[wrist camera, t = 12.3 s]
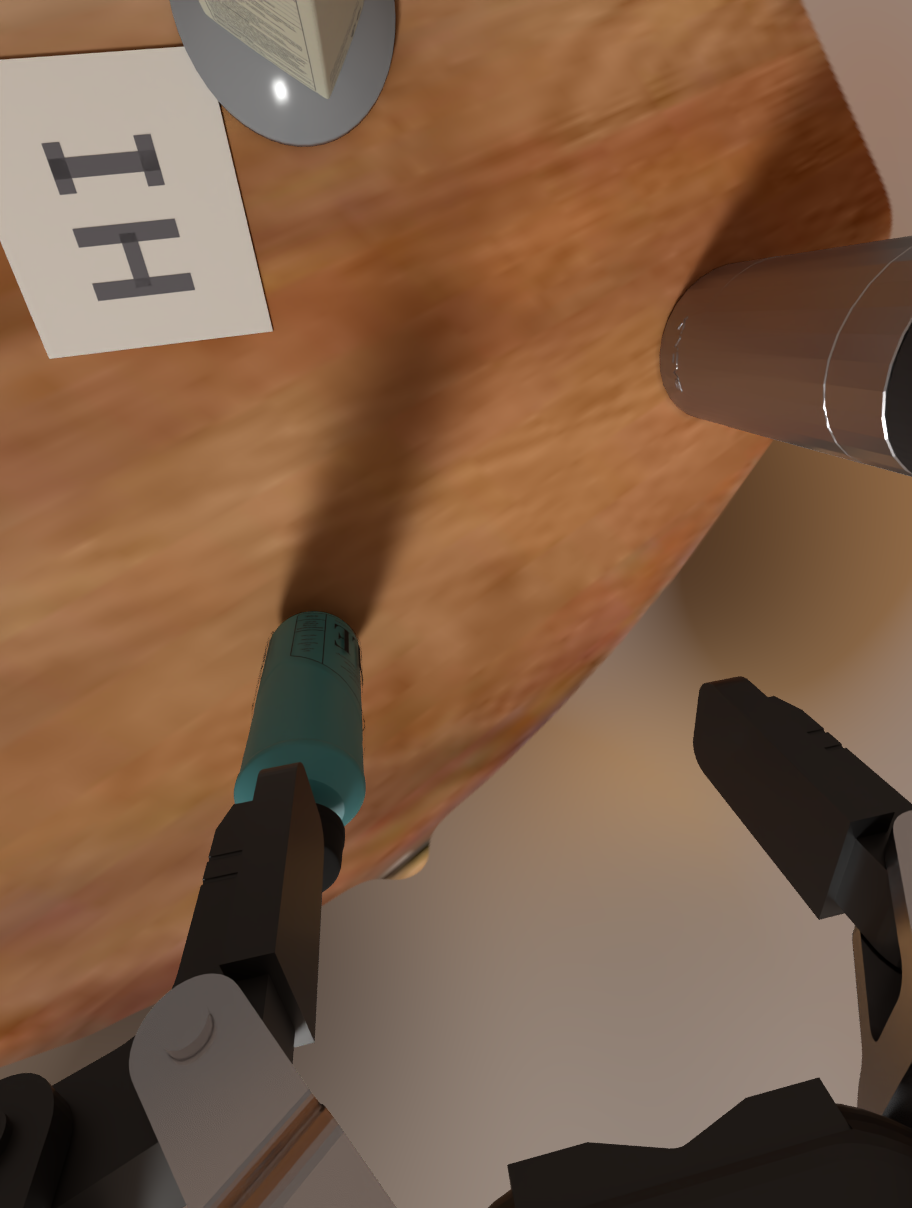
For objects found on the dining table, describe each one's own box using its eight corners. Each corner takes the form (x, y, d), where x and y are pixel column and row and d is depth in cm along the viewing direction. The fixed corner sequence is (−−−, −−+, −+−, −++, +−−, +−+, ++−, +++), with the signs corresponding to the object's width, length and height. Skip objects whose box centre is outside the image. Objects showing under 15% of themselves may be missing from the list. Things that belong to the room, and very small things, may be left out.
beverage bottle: (251, 645, 40) (174, 899, 22) (306, 579, 38) (269, 795, 21) (326, 689, 43) (310, 945, 25) (380, 628, 41) (403, 857, 24)
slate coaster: (374, -157, 24) (374, -168, 23) (408, 137, 29) (409, 134, 28) (134, -148, 23) (129, -159, 22) (210, 155, 28) (207, 152, 27)
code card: (205, 45, 26) (204, 45, 26) (273, 331, 31) (272, 331, 31) (-72, 66, 25) (-73, 65, 25) (50, 358, 30) (49, 358, 30)
